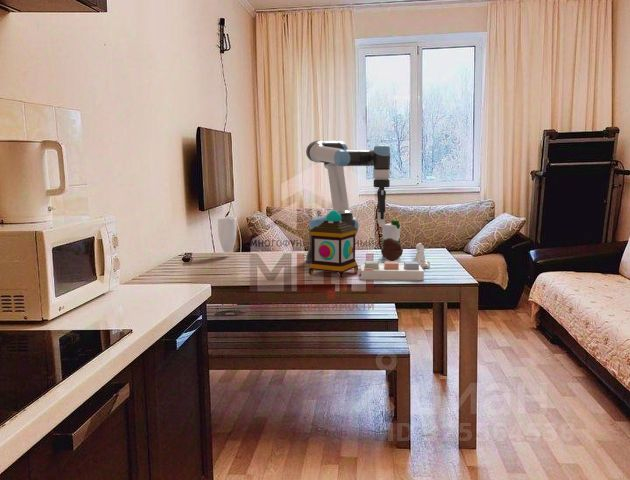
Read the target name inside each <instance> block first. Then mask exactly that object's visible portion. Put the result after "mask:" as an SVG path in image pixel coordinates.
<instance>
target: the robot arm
mask: <svg viewBox="0 0 630 480" xmlns="http://www.w3.org/2000/svg"><path fill="white" fill-rule="evenodd" d="M305 153H306V157H307V158H308V160H309V161H311V162H312V163H313V162H314V163H323V166H324V168H325V169H327V173H328V174H327V175H328V180H329V181H328V182H329V184H328V185H329V191H330V197H331V204H332V205H331V206H332V210H335V211H337V212H338V213H339V214H340V215H341V220H344V222H346V223H347V224H348V225H352V226H354V227H355V228H356V229H357V232H356V235H355V237H356V236H357V234H358V231H359V221H358V219H357V218H356V217H354V216H353V212H351V211H350V206H349V200H348V192H347V184H346V177H345V170H344V167H373V178H374V179H373V187H374V188H376V189H377V188H378V189H377V191H376V194H377V195H376V196H377V205H376V208H377V224H378V227H382V226H385V224H386V210H387V209H386V198H387V197H386V195H387V191H386V190H385V188H389V187H390V185H391V184H390V182H391V180H390V176H391V173H392V172H391V171H390V168H391V147H390V146H389V145H375V146H374V147H373V150H372V149H359V150H358V149H354V150H352V149H349V148H348V146H347V144H346V143H345V142H344V141H342V140H314V141H312V142H310V143H309V144H308V145H307V147H306V151H305ZM326 217H327V215H324V216H322V215H319V216H315V217H312V218H311V219H310V220H309V222H308V223H309V224H308V231H309V233H308V235H309V240H308V241H309V243H308V244H309V245H308V247H309V248H308V250H307V253H306V256H305V257H306V258H305V261H306V262H307V263H310V264H311V263H312V236H311V234H310V231H311V229H313V228H314V227H316V226H319V225H321V223H323V222H324V221H325V220H326Z"/></svg>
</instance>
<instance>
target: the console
mask: <svg viewBox="0 0 630 480" xmlns="http://www.w3.org/2000/svg"><path fill="white" fill-rule="evenodd" d="M424 277H425V271H424V268H422V267H421V266H420V265H419V269H404V264H399V269H384V264H379V269H373V268H365V264H360V278H361V280H374V281H375V280H378V281H379V280H383V281H384V280H387V281H388V280H389V281H390V280H391V281H393V280H397V281H399V280H400V281H401V280H402V281H403V280H404V281H406V280H407V281H424Z"/></svg>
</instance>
